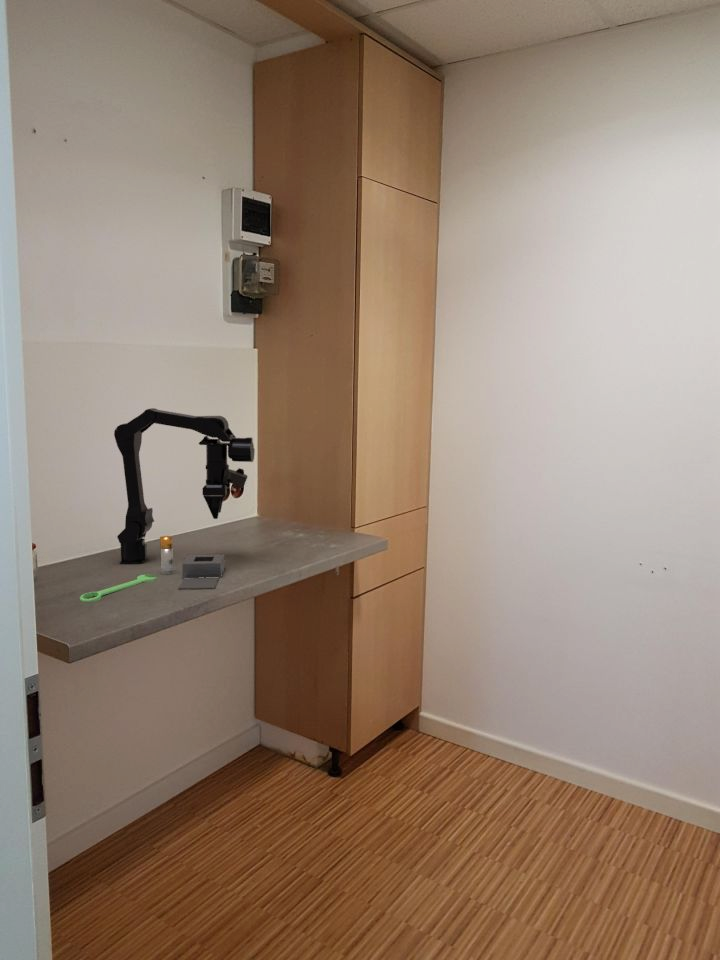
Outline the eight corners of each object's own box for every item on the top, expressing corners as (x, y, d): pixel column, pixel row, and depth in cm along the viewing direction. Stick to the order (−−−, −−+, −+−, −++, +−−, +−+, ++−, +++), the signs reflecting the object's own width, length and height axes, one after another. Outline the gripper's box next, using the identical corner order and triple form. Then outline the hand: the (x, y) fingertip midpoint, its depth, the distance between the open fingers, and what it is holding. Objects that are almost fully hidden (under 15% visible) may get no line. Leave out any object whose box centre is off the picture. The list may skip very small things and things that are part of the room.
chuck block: (182, 578, 210) (182, 563, 209) (188, 569, 220) (187, 554, 219) (220, 578, 211) (220, 563, 210) (224, 568, 221) (224, 554, 220)
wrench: (162, 582, 211) (146, 579, 213) (162, 575, 210) (146, 572, 213) (91, 605, 189) (74, 601, 191) (91, 597, 188) (74, 594, 191)
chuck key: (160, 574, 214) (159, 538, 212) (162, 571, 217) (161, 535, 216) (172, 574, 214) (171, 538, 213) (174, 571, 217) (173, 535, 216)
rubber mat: (178, 589, 200) (178, 588, 200) (183, 580, 209) (183, 578, 208) (214, 589, 200) (214, 587, 200) (218, 579, 209) (218, 578, 209)
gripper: (243, 465, 215) (243, 522, 217) (247, 457, 233) (247, 509, 235) (202, 465, 214) (202, 522, 216) (209, 456, 232) (209, 509, 234)
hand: (217, 515), depth 225 cm, fingers open, 9 cm apart
